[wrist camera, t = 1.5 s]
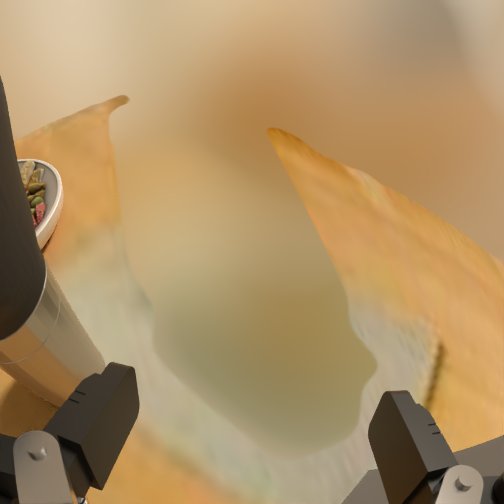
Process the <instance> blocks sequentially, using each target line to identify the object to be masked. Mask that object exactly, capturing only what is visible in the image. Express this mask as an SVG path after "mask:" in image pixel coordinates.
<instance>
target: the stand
mask: <svg viewBox="0 0 504 504" xmlns="http://www.w3.org/2000/svg"><path fill="white" fill-rule="evenodd" d="M453 454H454V456H455V458H456V460H457V462H458V464H459V465H466V466H470V467H472V468H474V469H475V470H477V471H478V472H479V473H480V475H481V476H482V477H486V476H500V475H501V474H502V473H503V472H504V435H503V436H500V437H498V438H495V439H493V440H490V441H487V442H485V443H482V444H479V445H476V446H473V447H470V448H467V449H464V450H461V451H457V452H454V453H453ZM342 504H389V503H388V499H387V496H386V493H385V489H384V486H383V483H382V480H381V476H380V473H379V470H378V469H375V470H369V471H368V472H367V474H366V475H365V476H364V477H363V479H362V480H361V481H360V482H359V484H358V485H357V486H356V487H355V488H354V490H353V491H352V492H351V493H350V494H349V496H348V497H347V498H346V499H345V500H344V501H343V503H342Z"/></svg>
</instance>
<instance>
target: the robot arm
mask: <svg viewBox="0 0 504 504" xmlns="http://www.w3.org/2000/svg"><path fill="white" fill-rule="evenodd" d="M0 368H1V369H2V370H3V371H4V372H6V373H7V374H8V375H10V376H11V377H13V378H14V379H15V380H17V381H18V382H19V383H21V384H22V385H24V386H25V387H27V388H28V389H30V390H31V391H32V392H34V393H35V394H37V395H38V396H40V397H42V398H43V399H45V400H46V401H48V402H49V403H51V404H53V405H55V406H57V407H59V408H60V409H59V410H58V411H57V412H56V414H55V415H54V416H53V418H52V419H51V420H50V421H49V423H48V424H47V425H46V427H45V428H44V429H43V430H42V431H39V430H33V431H28V432H25V433H23V434H22V435H20V436H19V437H18V438H15V437H10V436H6V435H2V434H0V504H89V501H88V498H87V496H86V493H87V491H88V489H89V487H90V486H91V487H94V488H96V489H99V490H103V488H104V485H105V483H106V481H107V479H108V477H109V475H110V473H111V471H112V468H113V466H114V464H115V462H116V460H117V458H118V456H119V454H120V452H121V450H122V448H123V446H124V444H125V441H126V439H127V437H128V435H129V433H130V431H131V429H132V427H133V425H134V423H135V421H136V419H137V416H138V413H139V396H138V389H137V381H136V373H135V369H134V368H133V367H131V366H126V365H122V364H118V363H114V362H110V363H109V364H108V365H107V367H106V368H105V366H104V361H103V359H102V356H101V354H100V353H99V351H98V350H97V348H96V347H95V345H94V344H93V342H92V340H91V339H90V337H89V336H88V334H87V333H86V331H85V329H84V328H83V326H82V325H81V323H80V321H79V320H78V318H77V316H76V315H75V313H74V311H73V310H72V308H71V306H70V305H69V303H68V301H67V299H66V298H65V296H64V294H63V292H62V290H61V289H60V287H59V285H58V283H57V281H56V280H55V278H54V276H53V274H52V272H51V270H50V268H49V266H48V264H47V262H46V260H45V258H44V256H43V254H42V252H41V250H40V247H39V245H38V242H37V237H36V232H35V227H34V222H33V216H32V212H31V208H30V204H29V201H28V197H27V194H26V191H25V187H24V184H23V181H22V177H21V173H20V169H19V165H18V161H17V156H16V151H15V146H14V141H13V136H12V130H11V124H10V118H9V112H8V106H7V101H6V96H5V91H4V87H3V83H2V80H1V77H0ZM440 432H441V431H440V429H439V428H438V426H437V425H436V423H435V421H434V419H433V417H432V416H431V414H430V412H428V411H427V410H426V409H425V408H424V407H423V406H421V405H420V404H416V403H415V402H414V400H413V398H412V396H411V395H410V393H409V392H408V391H407V390H403V391H386V392H385V393H384V394H383V395H382V398H381V400H380V402H379V405H378V407H377V409H376V411H375V414H374V416H373V418H372V420H371V422H370V425H369V430H368V438H369V442H370V445H371V448H372V451H373V454H374V457H375V461H376V464H377V467H378V470H379V473H380V476H381V480H382V483H383V486H384V489H385V493H386V496H387V499H388V503H389V504H504V472H503V473H502V474H501V475H500V476H486V477H482V476H481V475H480V473H479V472H478V471H477V470H475V469H474V468H472V467H470V466H466V465H459V464H458V462H457V460H456V458H455V456H454V454H453V453H452V451H451V449H450V447H449V445H448V444H447V442H446V440H445V438H444V436H443V435H442V434H441V433H440Z"/></svg>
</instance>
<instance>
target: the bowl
mask: <svg viewBox="0 0 504 504" xmlns="http://www.w3.org/2000/svg"><path fill="white" fill-rule="evenodd" d="M17 161H18V165H19V169H20V173H21V177H22V181H23V184H24V187H25V191H26V194H27V197H28V201H29V204H30V208H31V212H32V216H33V222H34V227H35V232H36V237H37V242H38V245H39V247H40V250H41V249H42V248H43V247H44V245H45V244H46V242H47V241H48V240H49V238H50V236H51V235H52V233H53V231H54V229H55V227H56V225H57V222H58V220H59V217H60V214H61V210H62V205H63V186H62V182H61V178H60V175H59V173H58V172H57V170H56V169H55V168H54V167H53V166H52V165H50V164H48V163H46V162H44V161H41V160H35V159H21V160H17Z"/></svg>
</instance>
